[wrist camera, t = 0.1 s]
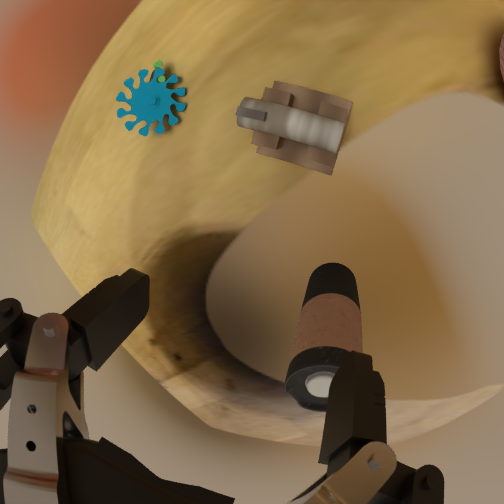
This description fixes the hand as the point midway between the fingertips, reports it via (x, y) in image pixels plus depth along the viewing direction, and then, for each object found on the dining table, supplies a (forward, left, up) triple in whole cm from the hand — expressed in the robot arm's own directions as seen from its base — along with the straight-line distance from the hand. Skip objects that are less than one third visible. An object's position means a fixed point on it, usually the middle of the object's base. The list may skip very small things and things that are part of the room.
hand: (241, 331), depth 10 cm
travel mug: (+13, +8, -30) cm, 33 cm away
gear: (-7, -23, -30) cm, 38 cm away
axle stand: (-7, -3, -29) cm, 30 cm away
